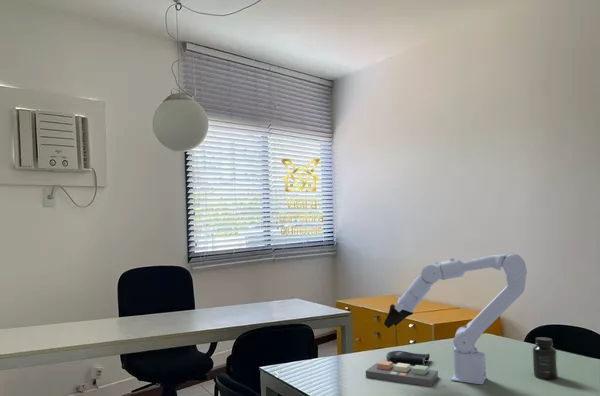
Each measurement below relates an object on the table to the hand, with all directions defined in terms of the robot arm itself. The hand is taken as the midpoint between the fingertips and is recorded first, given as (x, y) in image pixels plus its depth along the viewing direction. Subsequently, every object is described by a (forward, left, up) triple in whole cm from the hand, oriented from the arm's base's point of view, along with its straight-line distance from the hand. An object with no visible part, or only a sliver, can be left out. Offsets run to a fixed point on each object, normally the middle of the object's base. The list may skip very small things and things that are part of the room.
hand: (389, 324), depth 162 cm
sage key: (-11, +3, -14) cm, 18 cm away
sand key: (-5, +3, -14) cm, 15 cm away
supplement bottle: (-46, -16, -16) cm, 51 cm away
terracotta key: (+1, +3, -14) cm, 14 cm away
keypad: (-5, +4, -16) cm, 17 cm away
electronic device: (-1, -15, -16) cm, 22 cm away
